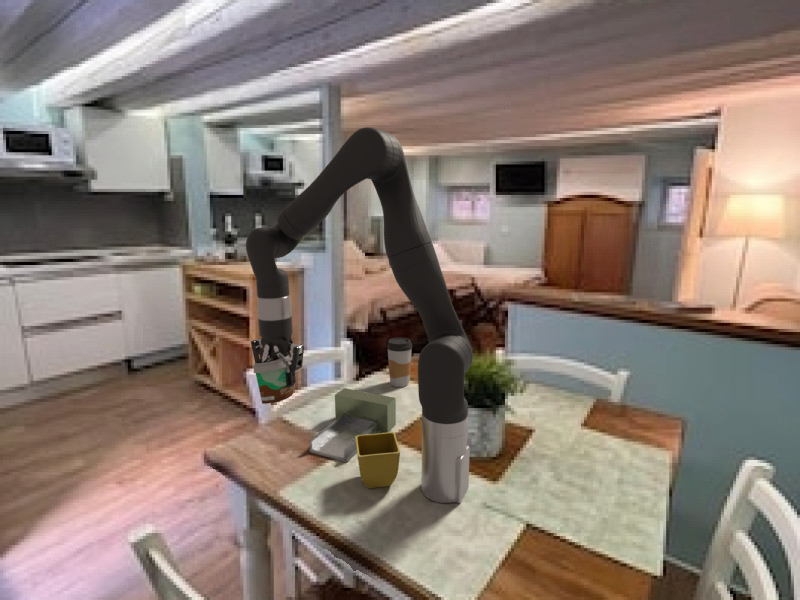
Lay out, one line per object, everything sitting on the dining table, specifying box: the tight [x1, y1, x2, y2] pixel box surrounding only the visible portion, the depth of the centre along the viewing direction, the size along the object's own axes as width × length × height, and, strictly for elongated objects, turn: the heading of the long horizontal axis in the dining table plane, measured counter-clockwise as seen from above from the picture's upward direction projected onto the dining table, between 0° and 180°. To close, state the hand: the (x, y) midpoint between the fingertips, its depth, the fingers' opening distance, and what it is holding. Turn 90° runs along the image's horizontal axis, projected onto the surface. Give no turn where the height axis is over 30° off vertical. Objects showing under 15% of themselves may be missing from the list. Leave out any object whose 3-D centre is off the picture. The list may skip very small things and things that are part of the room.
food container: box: [253, 354, 294, 405], centre depth 105 cm, size 12×6×10 cm, turn 166°
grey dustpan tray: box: [308, 387, 397, 463], centre depth 114 cm, size 16×21×8 cm
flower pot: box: [355, 431, 401, 489], centre depth 95 cm, size 9×9×9 cm
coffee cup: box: [386, 337, 413, 388], centre depth 147 cm, size 8×8×15 cm
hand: (279, 383), depth 106 cm, fingers closed on food container, 5 cm apart
